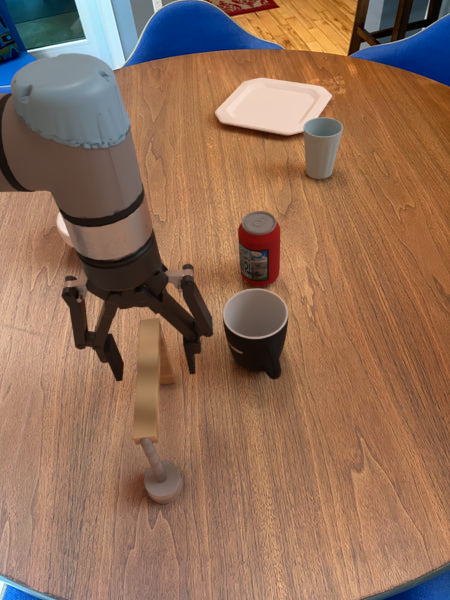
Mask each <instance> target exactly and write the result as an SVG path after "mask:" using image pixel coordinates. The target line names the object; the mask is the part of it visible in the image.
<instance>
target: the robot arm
mask: <svg viewBox="0 0 450 600" xmlns="http://www.w3.org/2000/svg"><path fill="white" fill-rule="evenodd" d="M115 74H116V73H115V72H114V70H113V69H112V67H110V65H109V64H108V63H107V62H105V61H104V60H102V59H101V58H99V57H96V56H94V55H91V54H85V53H77V52H73V53H71V52H68V53H60V54H58V55H56V56H51V57H48V56H47V57H42V58H38V59H36V60H33V61H32V62H29V63H27V64H26V65H24V66H23V67H21V68H20V69H18V70H17V71H16V72H15V74H14V75H13V77H12V79H11V82H10V92H8V93H7V92H6V93H5V92H4V93H3V92H2V93H1V92H0V193H34V192H35V193H36V192H49V193H51V196H52V198H53V200H54V203H55V204H56V207H57V208H58V210H59V211H58V212H60V213H61V215H62V218H63V221H64V223H65V226H66V228H67V231H68V233H69V236H70V239H71V241H72V244H73V246H74V248H75V249H76V250H75V249H74V248H73V249H74V250H75V252H76V255H77V258H78V260H79V263H80V265H81V267H82V270H83V273H84V274H85V277H84V278H79V279H78V278H77V277H76V276H74V275H71V274H68V275H66V276H65V277H64V281H63V286H62V291H61V295H60V297H61V298H62V300H63V301H64V303H65V304H66V306H68V308H69V316H70V322H71V328H72V336H73V342H74V343H73V344H74V347H75V348H76V349H77V350H85V349H86V348H91V349H92V350H93V351H94V352H95V354H96V355H97V358H98V360H99V362H100V363H102V364H108V366H109V369H110V371H111V372H112V374H113V377H114V379H115V382H123V380H124V369H125V362H124V359H123V357H122V355H121V352H120V349H119V347H118V345H117V342H116V340H115V337H114V335H113V333H112V332H110V329H111V326H112V324H113V321H114V319H115V317H116V314H117V312H118V309H119V310H128V309H132V308H140V309H141V308H148V309H149V310H150V311H151V312H152V313H153V314H155V315H158V314H159V315H160V316H161V317H162V318H163V319H164V320H165V321H166V322H168V323H169V324H170V326H172V327H173V328H174V329H175V330H176V331H177V332H179V333H180V334H181V335H182V347H183V352H184V355H185V361H186V364H187V369H188V372H189V373H188V374H189V376H190V375H196V371H197V370H196V356H195V355H200V354H201V353H202V341H201V340H202V339H201V338H202V337H205V338H211V337H213V336H214V325H213V324H214V323H213V322H214V321H213V316H212V314H211V312H210V310H209V308H208V305H207V304H206V302H205V299H204V297H203V295H202V293H201V292H200V289H199V287H198V285H197V283H196V281H195V267H194V265H193V264H191V263H185V264H183V265H182V267H181V269H169V268H168V267H167V265H165V264H164V263H163V262H162V258H161V253H160V250H159V245H158V242H157V241H158V240H157V237H156V233H155V230H154V228H153V219H152V216H151V212H150V207H149V203H148V199H147V194H146V191H145V187H144V183H143V180H142V175H141V170H140V165H139V161H138V157H137V152H136V147H135V143H134V138H133V133H132V123H131V119H130V115H129V113H128V112H127V110H126V109H127V108H126V107H125V103H124V100H123V96H122V93H121V90H120V86H119V83H118V79H117V76H116V75H115ZM168 284H172V285H173V286H174V288H175V289H176V290H177V292H178V293H181V294H182V298H183V300H184V302H185V304H186V307H187V309H188V310H189V312H190V313H189V312H188V311H187V309H185V308H184V307H183V306H182V305H181V303H180V302H178V301H177V300H176V299H175V298H174V297H173V296H172V295H171V294H170V293H169V292H168V289H167V286H168ZM87 292H89V293H90V294H92V295H94V296H95V297H97V298H98V299H101V301H103V303H102V306H101V309H100V312H99V316H98V318H97V322H96V325H95V326H94V331H92V330H89V323H88V314H87V306H86V297H87Z"/></svg>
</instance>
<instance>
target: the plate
mask: <svg viewBox="0 0 450 600" xmlns="http://www.w3.org/2000/svg"><path fill="white" fill-rule="evenodd" d="M332 98H333V95H332V93H330V92H329V91H328V90H327V89H326V88H325V87H324V86H322V85H317V84H310V83H302V82H296V81H295V82H294V81H289V80H282V79H274V78H269V77H258V78H252V79H247V80H245V81H243V82H241V83H240V85H239V86H237V88H236V89H234V91H232V93H231V94H230V95H229V96H228V97H227V98H226V99H225V100H224V101H223V102H222V103H221V104H220V106H218V107H217V109H216V110H214V115H215V117H216V119H217V120H218V122H220V123H221V124H223V125H227V126H234V127H238V128H242V129H243V128H244V129H249V130H255V131H259V132H264V133H269V134H276V135H281V136H292V135H296V134H301V133H304V124H305V123H306V122H307V121H309V120H311V119H314V118H319V117H320V116H321V114H322V112H323V111H324V109H325V108H326V107H327V105H328V104H329V102H330V101H331V100H332Z"/></svg>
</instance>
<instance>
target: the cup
mask: <svg viewBox="0 0 450 600" xmlns="http://www.w3.org/2000/svg"><path fill="white" fill-rule="evenodd" d="M343 130H344V126H343V124H342V122H341V121H339V120H338V119H336V118H332V117H325V116H323V117H322V116H321V117H320V116H319V117H318V118H314V119H311V120H309V121H307V122H306V123H305V124H304V132H303V143H304V144H303V145H304V159H305V161H304V162H305V163H304V164H305V173H306V175H307V176H308V177H309V178H311V179H315V180H324V179H327V178H329V177H330V176H331V175H333V171H334V168H335V167H334V166H335V162H336V158H337V155H338V150H339V146H340V143H341V138H342V134H343Z"/></svg>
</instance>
